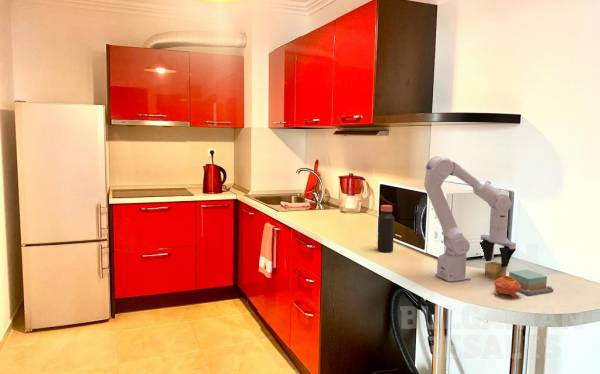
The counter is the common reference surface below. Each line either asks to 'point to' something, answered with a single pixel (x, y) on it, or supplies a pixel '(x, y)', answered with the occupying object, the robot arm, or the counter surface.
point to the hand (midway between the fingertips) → (496, 263)
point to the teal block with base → (531, 282)
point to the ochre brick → (494, 270)
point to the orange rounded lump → (507, 285)
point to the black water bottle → (385, 229)
